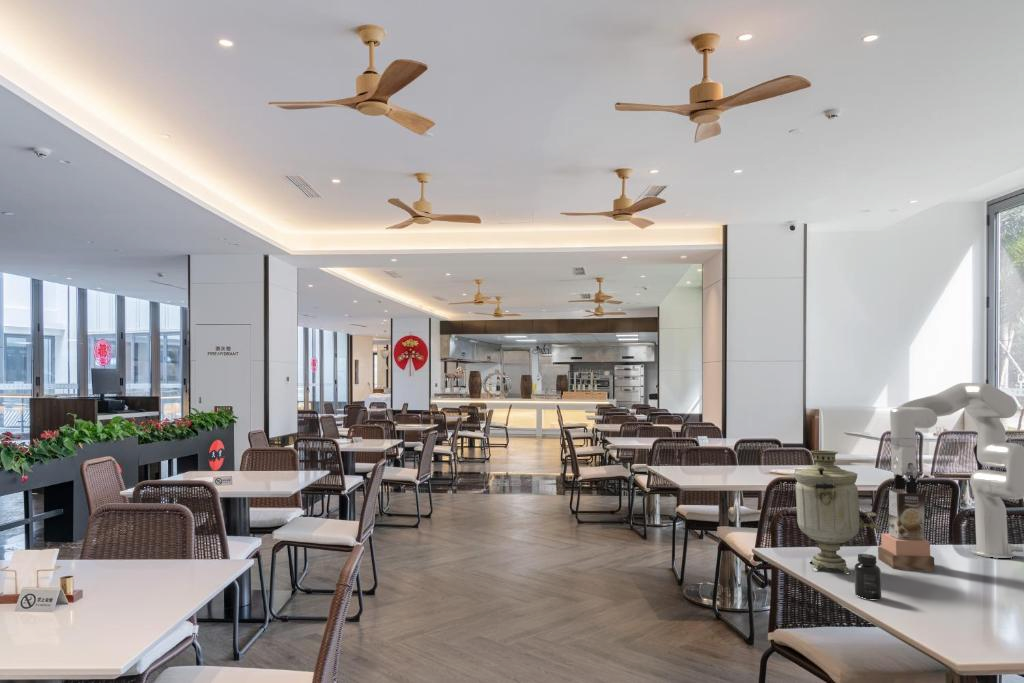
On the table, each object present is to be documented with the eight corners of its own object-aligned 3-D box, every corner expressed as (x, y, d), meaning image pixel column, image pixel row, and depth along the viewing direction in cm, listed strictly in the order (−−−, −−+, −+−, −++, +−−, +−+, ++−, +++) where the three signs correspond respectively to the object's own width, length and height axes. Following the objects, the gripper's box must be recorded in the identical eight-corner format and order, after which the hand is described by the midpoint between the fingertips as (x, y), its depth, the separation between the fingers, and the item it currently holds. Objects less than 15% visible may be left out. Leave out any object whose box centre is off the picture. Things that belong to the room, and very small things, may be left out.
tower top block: (914, 548, 229) (913, 534, 229) (930, 556, 218) (929, 541, 219) (881, 547, 230) (881, 533, 231) (896, 555, 219) (895, 540, 220)
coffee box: (897, 539, 222) (897, 493, 222) (888, 534, 228) (888, 489, 228) (925, 540, 221) (925, 493, 221) (914, 534, 227) (914, 490, 228)
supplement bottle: (886, 598, 187) (884, 556, 188) (873, 602, 184) (872, 559, 184) (863, 591, 193) (861, 551, 194) (850, 595, 189) (849, 554, 190)
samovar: (868, 588, 196) (865, 458, 199) (782, 571, 214) (779, 451, 217) (891, 569, 218) (887, 452, 221) (811, 555, 236) (808, 446, 239)
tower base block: (917, 562, 229) (916, 548, 230) (934, 572, 216) (934, 557, 217) (878, 560, 231) (877, 546, 232) (893, 570, 219) (892, 555, 219)
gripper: (882, 440, 236) (884, 487, 235) (902, 444, 219) (904, 495, 218) (904, 440, 235) (906, 487, 234) (926, 445, 218) (928, 495, 217)
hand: (905, 491), depth 226 cm, fingers open, 9 cm apart
